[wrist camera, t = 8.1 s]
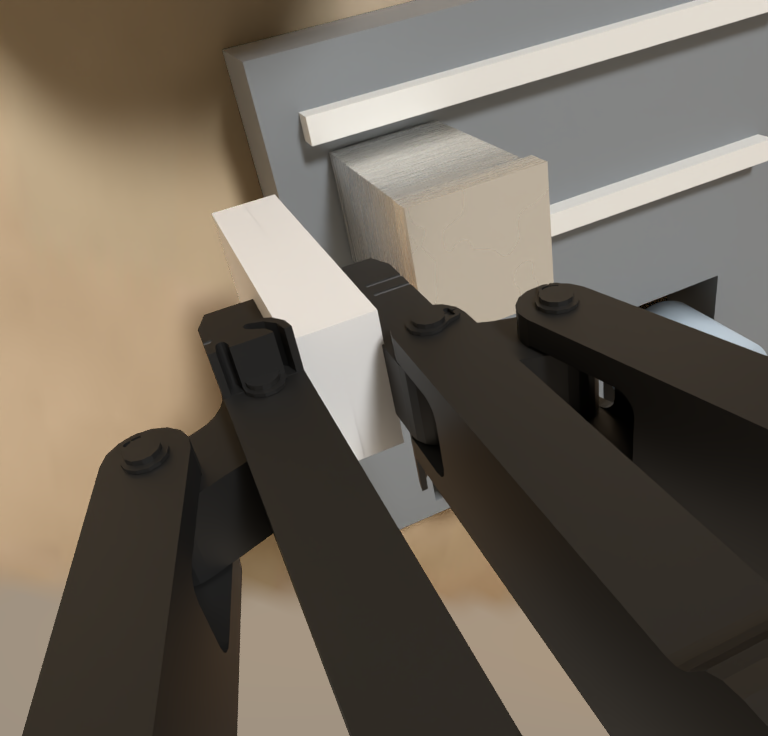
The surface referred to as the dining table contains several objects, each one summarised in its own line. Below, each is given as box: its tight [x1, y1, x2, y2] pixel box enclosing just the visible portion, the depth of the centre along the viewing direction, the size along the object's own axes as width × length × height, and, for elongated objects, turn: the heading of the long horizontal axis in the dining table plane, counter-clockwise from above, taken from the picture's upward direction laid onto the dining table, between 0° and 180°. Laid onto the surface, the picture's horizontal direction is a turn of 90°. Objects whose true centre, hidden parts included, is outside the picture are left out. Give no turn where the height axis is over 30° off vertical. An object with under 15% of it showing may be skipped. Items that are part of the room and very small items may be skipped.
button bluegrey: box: [612, 301, 767, 390], centre depth 25 cm, size 4×4×3 cm
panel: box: [222, 0, 768, 530], centre depth 24 cm, size 16×24×3 cm, turn 100°
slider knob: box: [329, 120, 554, 323], centre depth 17 cm, size 3×3×5 cm
